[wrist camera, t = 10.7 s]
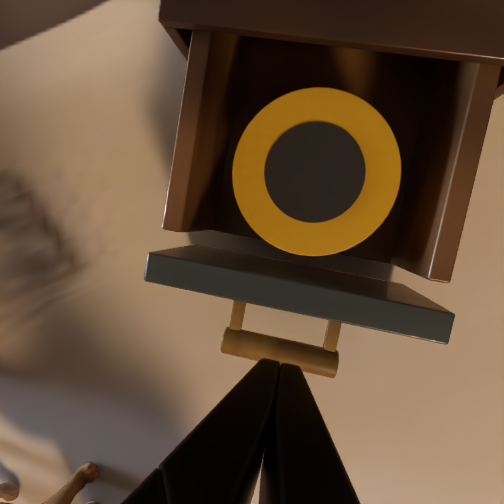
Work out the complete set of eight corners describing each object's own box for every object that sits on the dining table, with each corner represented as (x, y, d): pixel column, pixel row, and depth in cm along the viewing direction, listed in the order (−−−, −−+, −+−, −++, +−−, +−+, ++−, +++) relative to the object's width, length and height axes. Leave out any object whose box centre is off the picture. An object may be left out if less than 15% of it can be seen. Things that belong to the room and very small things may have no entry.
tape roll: (287, 269, 19) (281, 285, 14) (228, 165, 19) (202, 144, 14) (397, 209, 18) (434, 203, 13) (335, 99, 18) (348, 51, 13)
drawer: (383, 376, 20) (423, 450, 13) (180, 330, 21) (128, 377, 15) (455, 54, 18) (543, -42, 11) (230, 28, 19) (195, -70, 13)
